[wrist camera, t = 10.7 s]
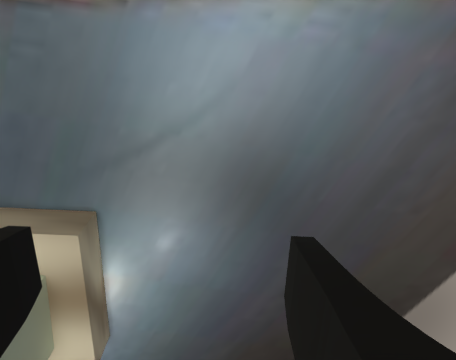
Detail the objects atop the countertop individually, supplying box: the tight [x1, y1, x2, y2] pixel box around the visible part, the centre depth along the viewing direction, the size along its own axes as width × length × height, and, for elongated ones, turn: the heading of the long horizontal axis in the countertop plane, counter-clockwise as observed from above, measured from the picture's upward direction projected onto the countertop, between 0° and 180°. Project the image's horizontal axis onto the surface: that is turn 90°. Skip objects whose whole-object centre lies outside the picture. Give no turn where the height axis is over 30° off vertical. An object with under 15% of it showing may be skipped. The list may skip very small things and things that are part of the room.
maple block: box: [0, 208, 110, 360], centre depth 21 cm, size 9×9×3 cm
